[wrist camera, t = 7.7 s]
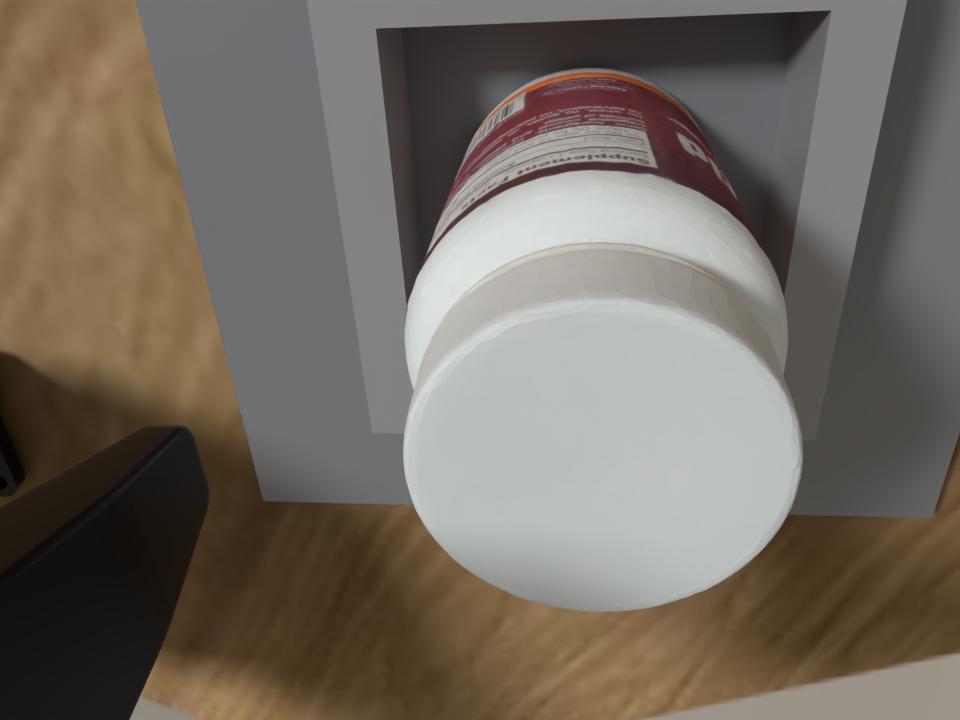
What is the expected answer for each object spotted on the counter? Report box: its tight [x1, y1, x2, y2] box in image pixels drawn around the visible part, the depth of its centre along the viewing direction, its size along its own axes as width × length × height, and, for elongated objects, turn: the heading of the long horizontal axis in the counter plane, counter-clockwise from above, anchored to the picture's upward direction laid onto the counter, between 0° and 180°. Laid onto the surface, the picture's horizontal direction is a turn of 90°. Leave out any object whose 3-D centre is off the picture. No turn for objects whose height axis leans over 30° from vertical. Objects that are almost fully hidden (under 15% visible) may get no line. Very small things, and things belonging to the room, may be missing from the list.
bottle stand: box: [136, 0, 960, 519], centre depth 15 cm, size 16×16×3 cm
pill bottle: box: [403, 68, 803, 612], centre depth 11 cm, size 5×5×8 cm
